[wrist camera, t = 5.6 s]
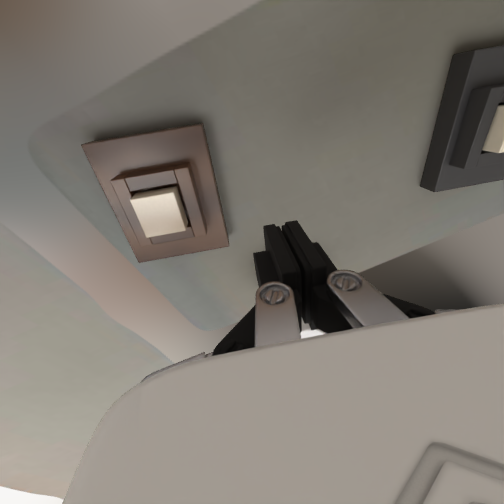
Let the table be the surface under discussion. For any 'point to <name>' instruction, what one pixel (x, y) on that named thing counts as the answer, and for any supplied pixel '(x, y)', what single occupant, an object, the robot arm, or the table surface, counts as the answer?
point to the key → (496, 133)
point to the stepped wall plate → (467, 123)
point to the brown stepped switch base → (162, 176)
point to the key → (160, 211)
